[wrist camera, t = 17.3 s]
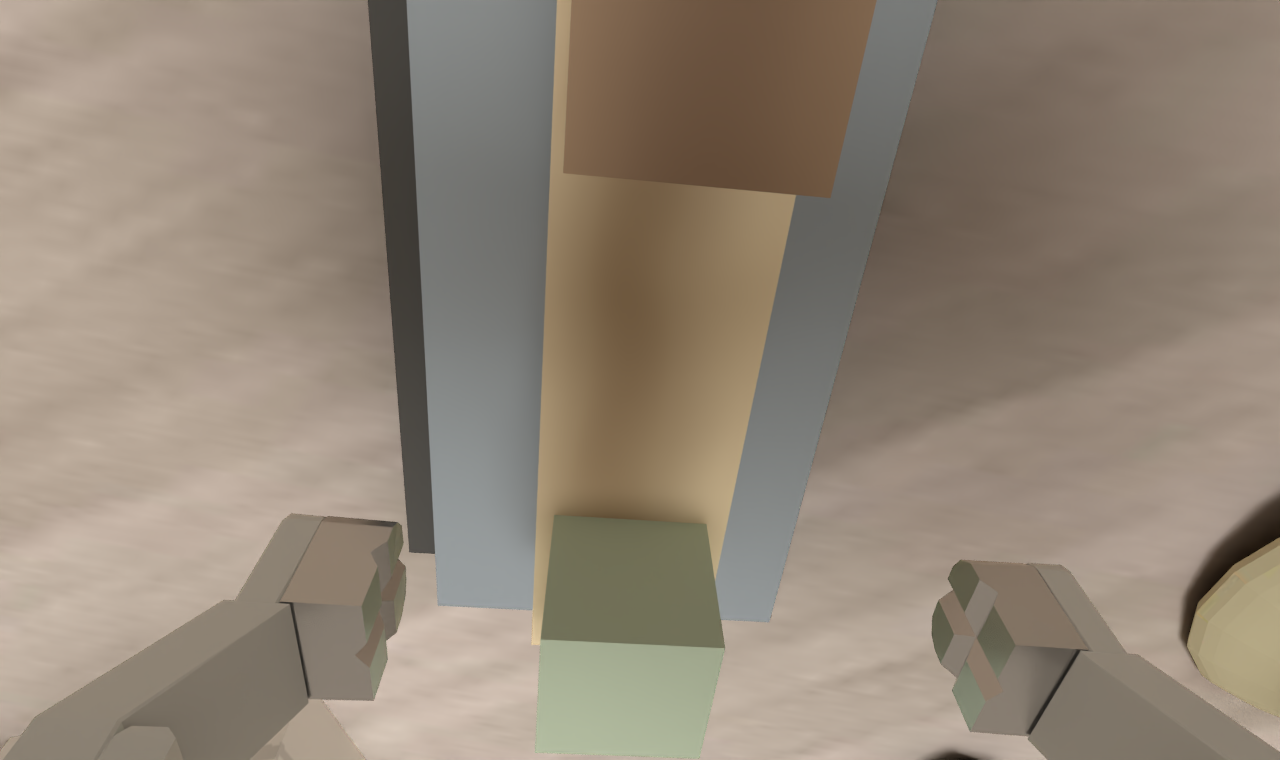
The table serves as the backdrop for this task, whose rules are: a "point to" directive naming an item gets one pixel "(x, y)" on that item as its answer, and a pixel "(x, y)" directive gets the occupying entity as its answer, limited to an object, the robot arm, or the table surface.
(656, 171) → the block
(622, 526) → the block
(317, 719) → the pizza boxes
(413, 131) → the dock
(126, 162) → the table surface
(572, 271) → the pallet
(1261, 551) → the handbell
